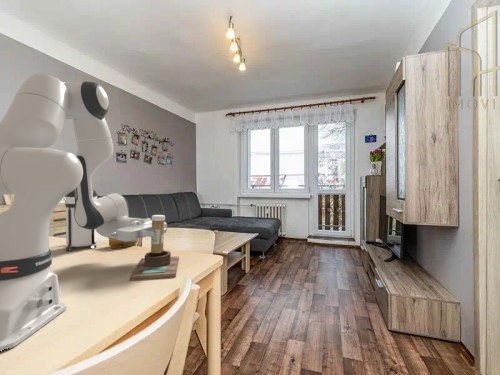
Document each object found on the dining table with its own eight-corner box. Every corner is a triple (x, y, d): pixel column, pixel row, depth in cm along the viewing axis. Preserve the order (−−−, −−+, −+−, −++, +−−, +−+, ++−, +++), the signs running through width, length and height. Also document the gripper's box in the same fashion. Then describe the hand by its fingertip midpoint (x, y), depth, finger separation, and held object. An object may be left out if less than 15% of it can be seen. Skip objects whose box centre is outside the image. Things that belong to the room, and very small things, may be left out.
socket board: (175, 276, 82) (175, 262, 82) (129, 280, 79) (129, 265, 79) (178, 259, 100) (178, 247, 100) (141, 261, 97) (141, 249, 97)
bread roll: (137, 242, 127) (137, 227, 127) (138, 247, 118) (138, 230, 118) (108, 245, 121) (108, 229, 120) (107, 250, 112) (107, 232, 112)
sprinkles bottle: (166, 251, 92) (167, 215, 92) (155, 254, 88) (157, 216, 88) (158, 249, 94) (159, 214, 95) (147, 252, 90) (149, 215, 91)
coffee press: (109, 244, 123) (109, 183, 122) (78, 253, 107) (78, 183, 107) (83, 241, 128) (83, 183, 127) (50, 249, 113) (49, 183, 112)
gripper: (107, 225, 86) (137, 229, 81) (150, 217, 105) (177, 219, 100) (107, 243, 87) (137, 248, 81) (150, 232, 106) (177, 235, 100)
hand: (159, 232), depth 91 cm, fingers closed on sprinkles bottle, 4 cm apart
